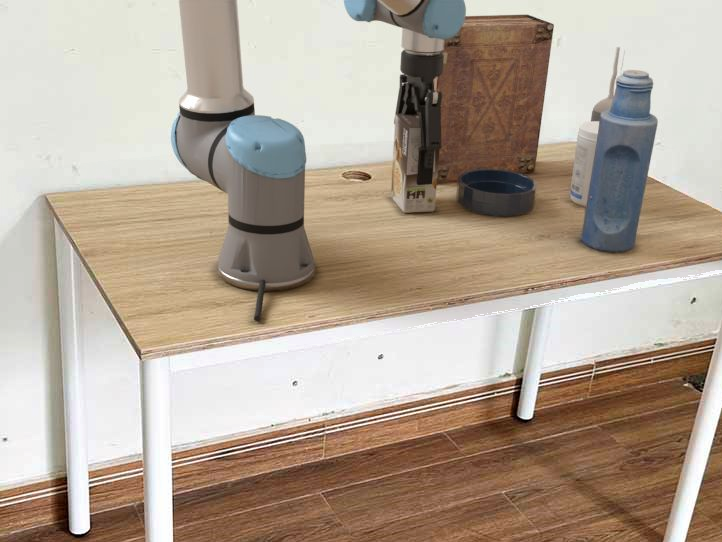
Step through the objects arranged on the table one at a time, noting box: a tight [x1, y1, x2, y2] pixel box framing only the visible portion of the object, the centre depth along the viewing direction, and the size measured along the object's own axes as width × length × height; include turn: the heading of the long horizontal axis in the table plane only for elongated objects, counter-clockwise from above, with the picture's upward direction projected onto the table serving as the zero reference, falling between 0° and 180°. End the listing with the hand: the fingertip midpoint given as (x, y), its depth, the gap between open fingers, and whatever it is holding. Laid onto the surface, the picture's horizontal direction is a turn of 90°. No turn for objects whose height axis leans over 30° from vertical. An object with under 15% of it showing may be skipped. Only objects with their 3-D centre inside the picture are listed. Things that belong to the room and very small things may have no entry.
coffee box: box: [390, 113, 442, 214], centre depth 195 cm, size 9×6×16 cm
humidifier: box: [590, 46, 626, 122], centre depth 221 cm, size 8×8×25 cm
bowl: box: [455, 169, 538, 218], centre depth 202 cm, size 15×15×4 cm
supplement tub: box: [569, 120, 599, 208], centre depth 204 cm, size 10×10×15 cm
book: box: [434, 14, 555, 184], centre depth 212 cm, size 25×9×30 cm, turn 116°
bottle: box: [580, 69, 659, 254], centre depth 181 cm, size 10×10×30 cm
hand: (414, 175), depth 197 cm, fingers closed on coffee box, 9 cm apart
